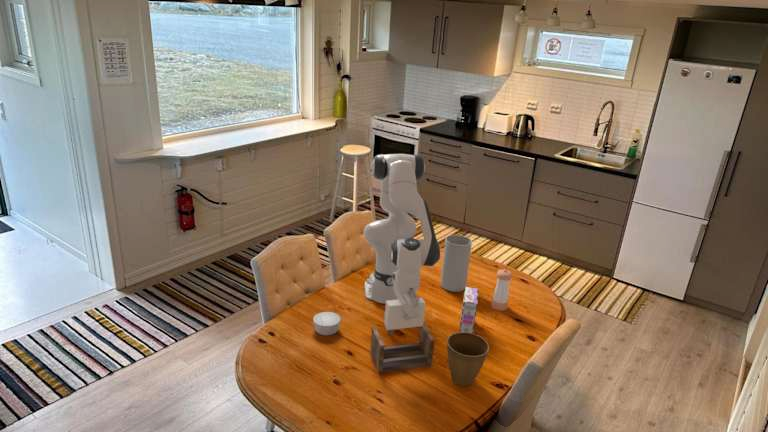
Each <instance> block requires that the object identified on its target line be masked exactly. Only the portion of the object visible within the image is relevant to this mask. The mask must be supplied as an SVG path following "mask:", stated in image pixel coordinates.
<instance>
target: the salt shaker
mask: <svg viewBox="0 0 768 432" xmlns="http://www.w3.org/2000/svg"><path fill="white" fill-rule="evenodd" d="M496 276H497V280H496V285H495V289H494V292H493V297H492V299H491V308H493V309H494V310H496V311H506V310H507V309H508V306H509V300H508V299H509V295H510V294H509V293H510V289H509V287H510V281H511V280H512V278H513V274H512V272H511V271H510V270H508V269H506V268H505V269H499V270H498V271H497V272H496Z"/></svg>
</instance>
